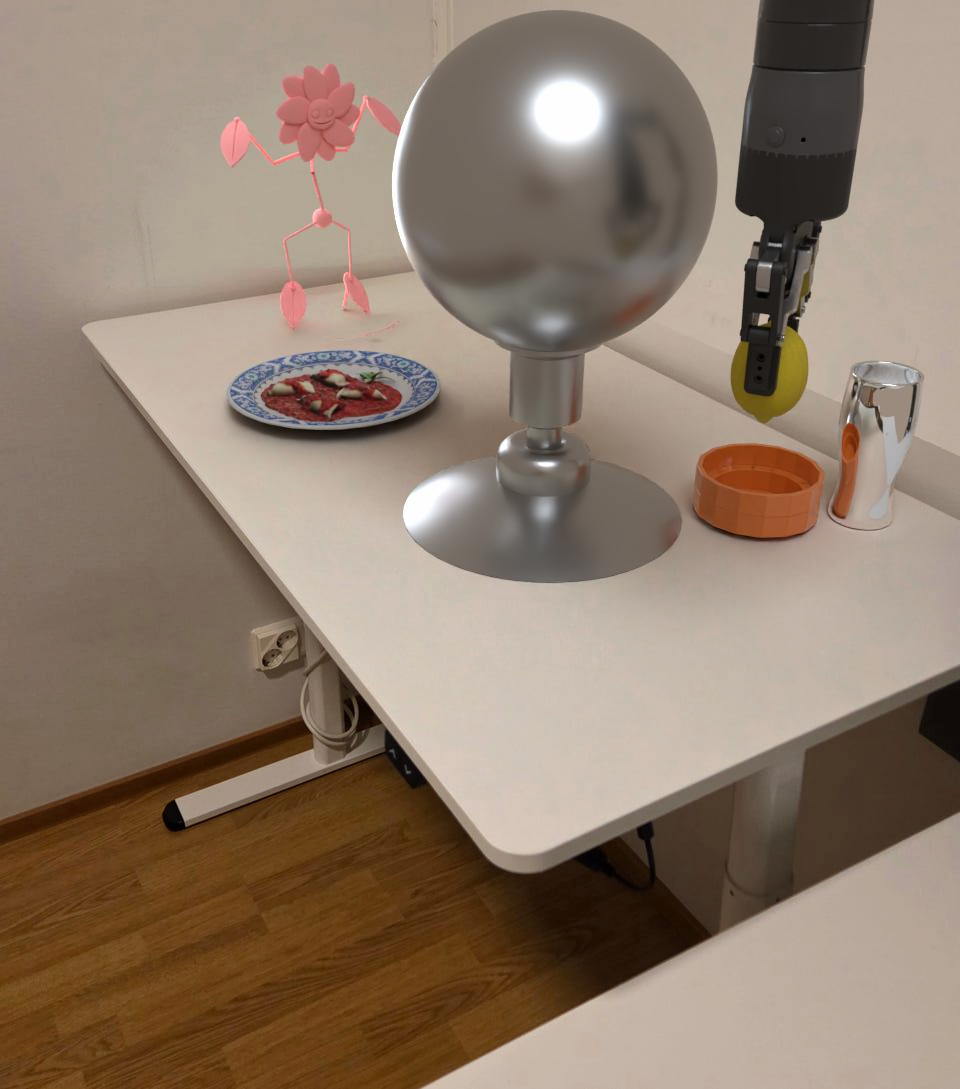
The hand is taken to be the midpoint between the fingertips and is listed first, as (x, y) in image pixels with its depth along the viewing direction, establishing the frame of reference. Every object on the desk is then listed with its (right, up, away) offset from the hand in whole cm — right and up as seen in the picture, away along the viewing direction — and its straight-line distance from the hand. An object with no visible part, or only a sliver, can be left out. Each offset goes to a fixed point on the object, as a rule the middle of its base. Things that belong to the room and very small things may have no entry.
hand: (768, 378), depth 81 cm
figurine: (-42, +19, +79) cm, 92 cm away
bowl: (+6, -9, +28) cm, 30 cm away
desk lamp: (-15, -9, +29) cm, 34 cm away
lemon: (0, -3, +2) cm, 4 cm away
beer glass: (+16, -10, +28) cm, 34 cm away
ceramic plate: (-39, +5, +53) cm, 66 cm away
